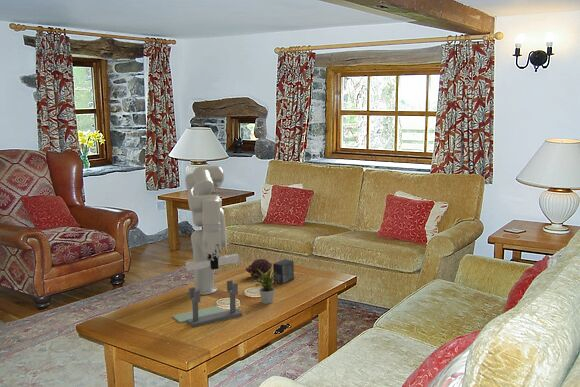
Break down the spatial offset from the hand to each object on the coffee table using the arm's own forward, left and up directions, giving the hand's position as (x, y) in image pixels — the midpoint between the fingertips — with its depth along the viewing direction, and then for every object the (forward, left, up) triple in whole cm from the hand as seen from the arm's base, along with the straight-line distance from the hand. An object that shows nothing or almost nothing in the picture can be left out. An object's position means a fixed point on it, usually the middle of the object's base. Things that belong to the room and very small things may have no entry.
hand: (212, 267), depth 263 cm
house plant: (-8, +31, -24) cm, 40 cm away
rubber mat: (-9, 0, -24) cm, 25 cm away
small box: (-30, +54, -24) cm, 66 cm away
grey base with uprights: (0, 0, -24) cm, 24 cm away
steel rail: (0, 0, +1) cm, 1 cm away
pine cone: (-43, +47, -24) cm, 68 cm away
